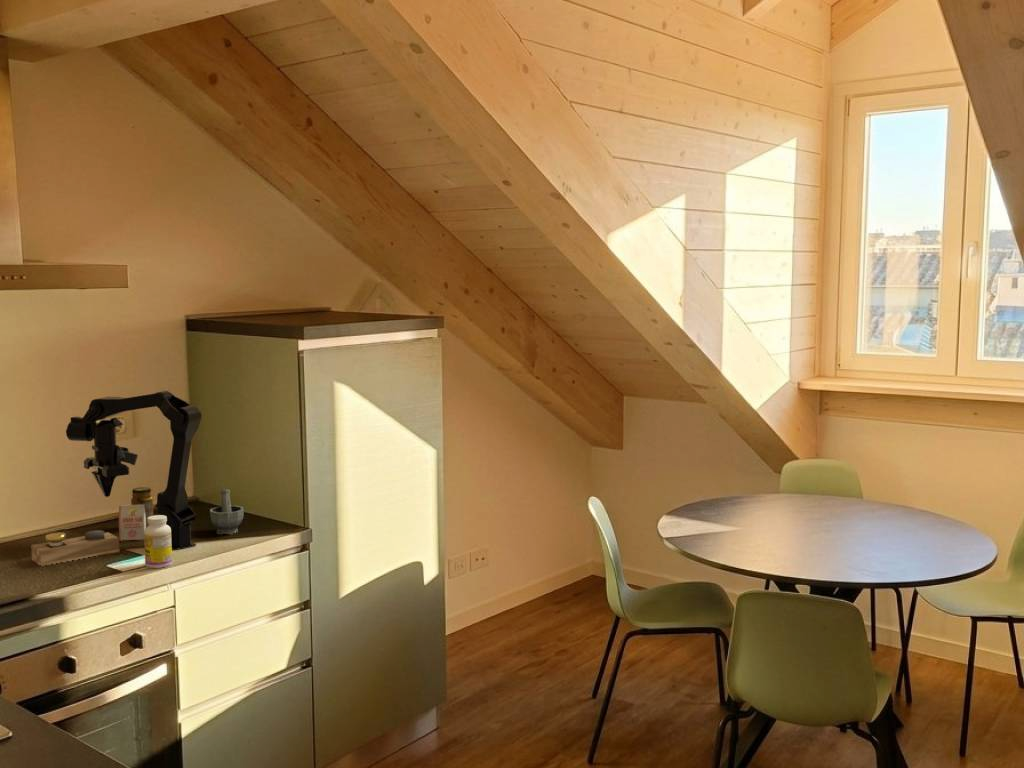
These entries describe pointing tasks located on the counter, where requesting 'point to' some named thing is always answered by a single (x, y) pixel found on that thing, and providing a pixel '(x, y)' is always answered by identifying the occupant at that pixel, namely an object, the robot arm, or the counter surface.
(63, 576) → the counter surface
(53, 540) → the brass plug
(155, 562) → the supplement bottle
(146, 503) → the condiment
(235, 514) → the mortar and pestle
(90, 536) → the grey domed piece
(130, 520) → the white printed box
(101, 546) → the oak block
